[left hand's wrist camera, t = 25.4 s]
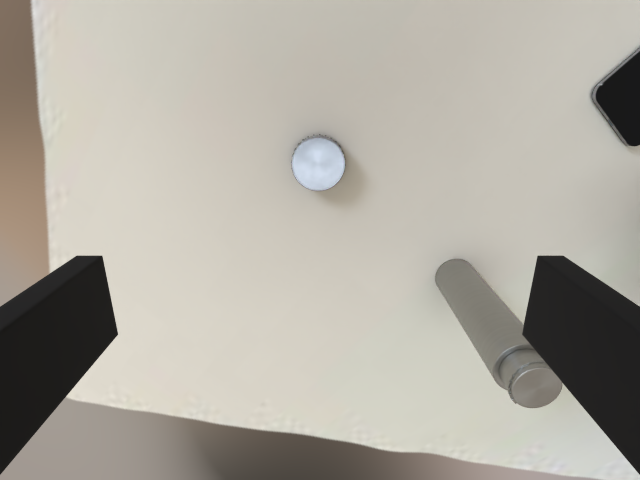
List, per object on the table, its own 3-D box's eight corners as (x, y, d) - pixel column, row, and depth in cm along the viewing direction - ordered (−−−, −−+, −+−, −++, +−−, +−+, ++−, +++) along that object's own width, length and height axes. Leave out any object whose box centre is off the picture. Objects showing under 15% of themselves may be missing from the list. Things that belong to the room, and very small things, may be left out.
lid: (308, 195, 40) (308, 201, 38) (282, 150, 38) (280, 154, 36) (353, 170, 39) (355, 175, 37) (328, 124, 37) (329, 126, 35)
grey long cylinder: (458, 251, 42) (547, 351, 26) (481, 277, 43) (580, 389, 27) (427, 276, 43) (493, 387, 26) (450, 301, 44) (527, 423, 28)
